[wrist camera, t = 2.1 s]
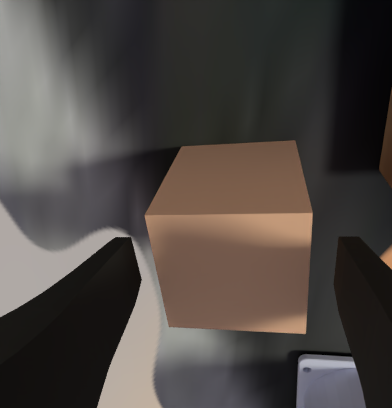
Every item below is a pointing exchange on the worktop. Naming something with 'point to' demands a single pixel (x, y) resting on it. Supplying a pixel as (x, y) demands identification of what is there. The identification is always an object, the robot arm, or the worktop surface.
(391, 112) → the tan board
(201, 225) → the terracotta block
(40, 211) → the worktop surface
